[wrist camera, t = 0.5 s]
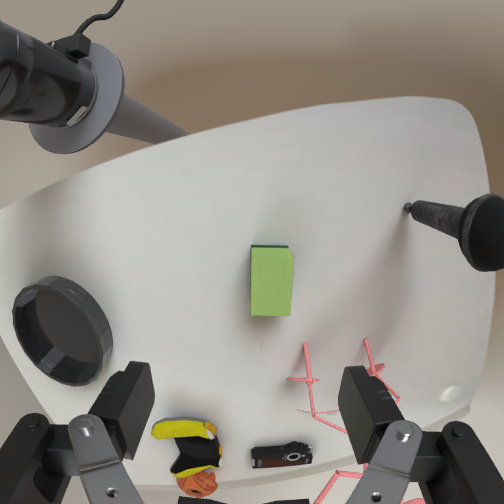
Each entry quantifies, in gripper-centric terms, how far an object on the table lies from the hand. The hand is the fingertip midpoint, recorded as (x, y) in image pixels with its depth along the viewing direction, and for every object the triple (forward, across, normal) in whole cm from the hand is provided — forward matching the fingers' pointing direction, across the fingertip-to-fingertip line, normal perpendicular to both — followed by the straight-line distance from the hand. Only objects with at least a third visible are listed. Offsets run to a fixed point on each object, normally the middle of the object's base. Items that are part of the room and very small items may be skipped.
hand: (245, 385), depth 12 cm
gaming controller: (+27, +9, +35) cm, 45 cm away
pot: (+28, +9, +47) cm, 55 cm away
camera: (+28, -7, +39) cm, 48 cm away
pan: (+27, +28, +14) cm, 41 cm away
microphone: (+27, -20, -5) cm, 34 cm away
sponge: (+27, -3, +4) cm, 27 cm away
